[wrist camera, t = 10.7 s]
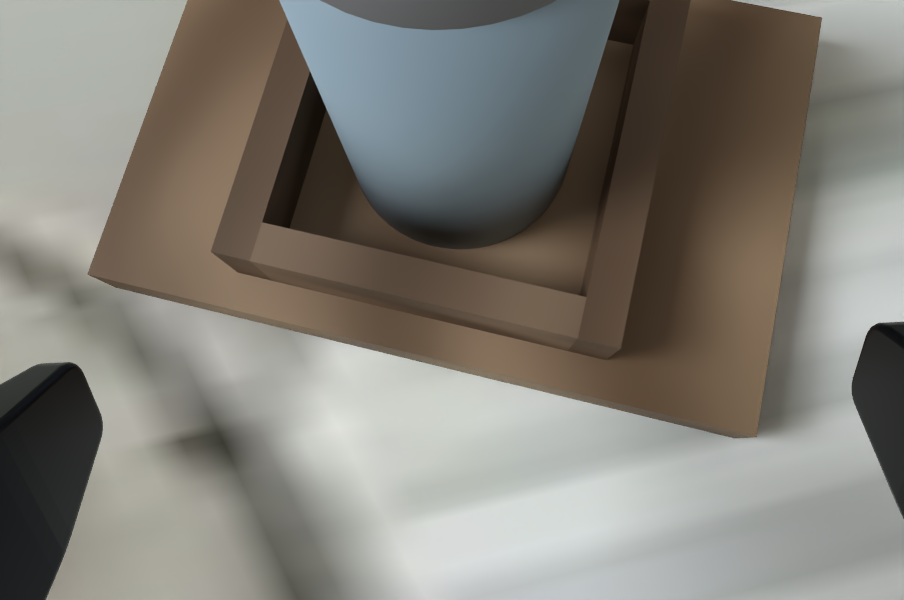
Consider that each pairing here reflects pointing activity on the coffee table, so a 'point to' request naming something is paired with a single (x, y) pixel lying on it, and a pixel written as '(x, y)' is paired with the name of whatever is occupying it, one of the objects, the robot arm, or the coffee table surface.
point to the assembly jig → (515, 259)
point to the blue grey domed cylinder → (455, 104)
